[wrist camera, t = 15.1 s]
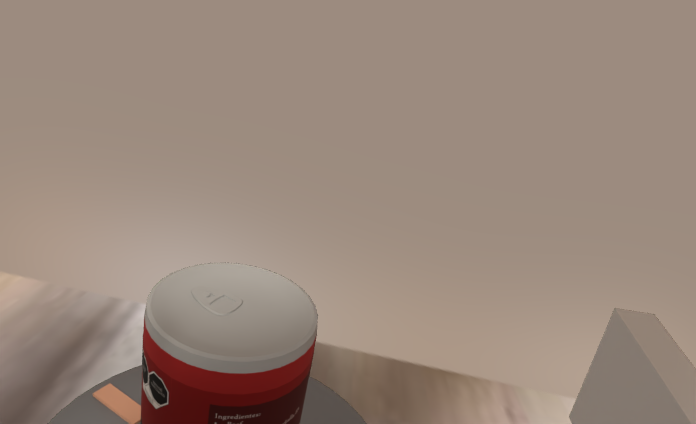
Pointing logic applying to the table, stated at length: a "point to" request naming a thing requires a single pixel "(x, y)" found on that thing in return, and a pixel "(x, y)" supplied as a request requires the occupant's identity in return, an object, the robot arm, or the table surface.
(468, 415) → the table surface
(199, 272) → the canned food
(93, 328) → the table surface
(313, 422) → the turntable
